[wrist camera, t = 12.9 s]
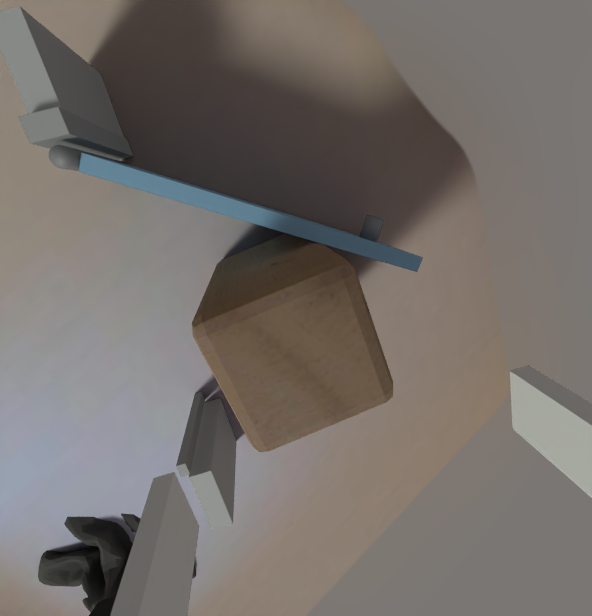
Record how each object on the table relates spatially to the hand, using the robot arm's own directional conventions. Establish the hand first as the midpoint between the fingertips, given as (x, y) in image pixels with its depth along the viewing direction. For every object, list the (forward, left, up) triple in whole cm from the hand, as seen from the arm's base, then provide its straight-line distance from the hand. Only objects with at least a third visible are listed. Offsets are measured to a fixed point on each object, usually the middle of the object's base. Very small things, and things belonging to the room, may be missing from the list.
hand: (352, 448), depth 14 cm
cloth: (+30, -32, -28) cm, 52 cm away
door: (-9, -1, -27) cm, 29 cm away
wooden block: (0, -1, -28) cm, 28 cm away
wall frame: (-2, -12, -28) cm, 30 cm away
